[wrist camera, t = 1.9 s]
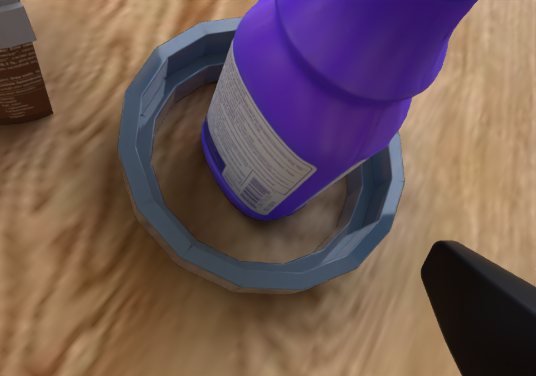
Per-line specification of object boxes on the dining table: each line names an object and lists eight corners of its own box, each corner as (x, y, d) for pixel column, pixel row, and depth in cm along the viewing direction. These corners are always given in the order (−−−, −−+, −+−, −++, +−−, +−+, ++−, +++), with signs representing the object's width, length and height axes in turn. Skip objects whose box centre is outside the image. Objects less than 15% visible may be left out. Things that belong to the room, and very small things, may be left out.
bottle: (326, 197, 26) (633, -29, 10) (248, 245, 23) (486, 51, 8) (261, 98, 27) (447, -253, 11) (179, 135, 24) (265, -244, 8)
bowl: (410, 185, 28) (449, 164, 24) (251, 358, 21) (273, 362, 18) (257, 22, 28) (275, -22, 25) (61, 144, 22) (48, 108, 19)
